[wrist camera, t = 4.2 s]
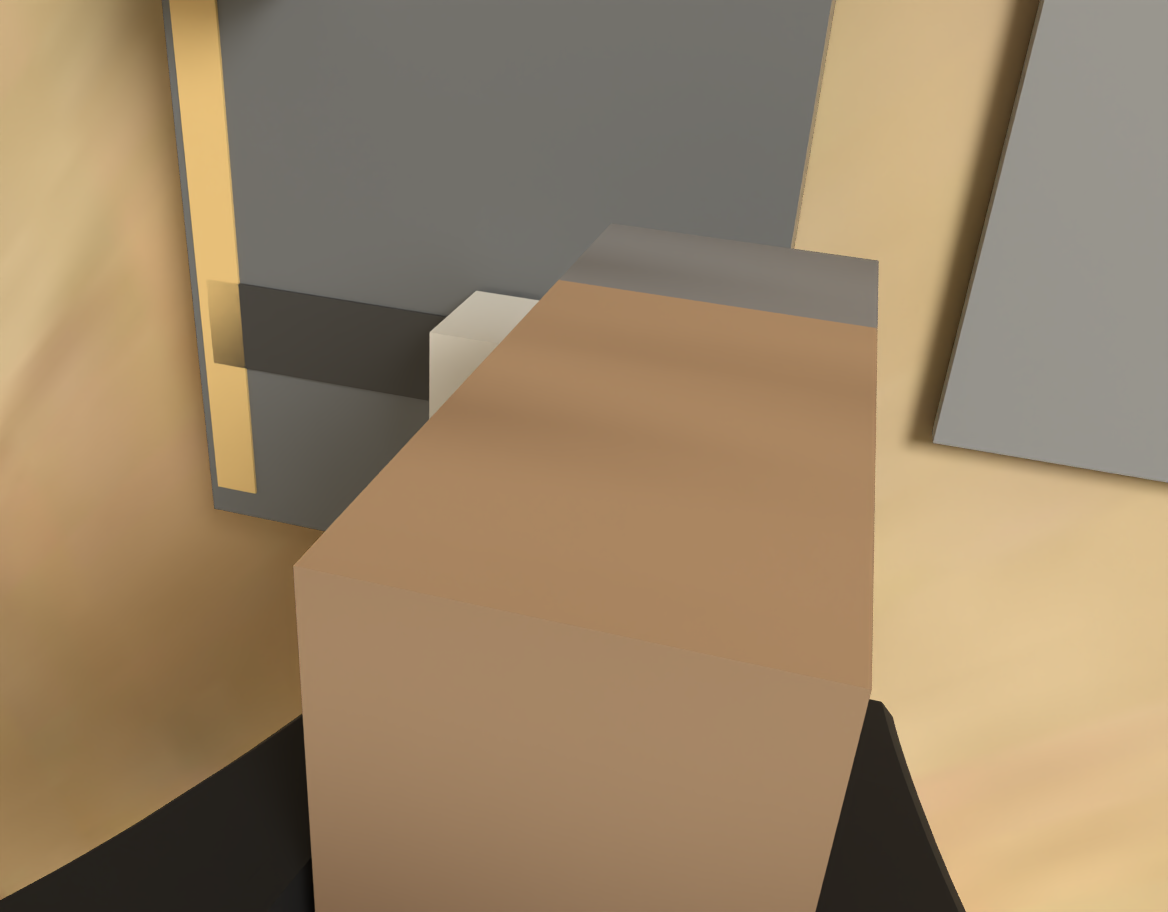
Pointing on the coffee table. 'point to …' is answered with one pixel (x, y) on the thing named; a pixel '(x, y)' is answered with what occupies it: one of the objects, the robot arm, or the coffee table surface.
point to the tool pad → (1074, 255)
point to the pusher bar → (609, 601)
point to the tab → (469, 340)
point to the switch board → (444, 190)
